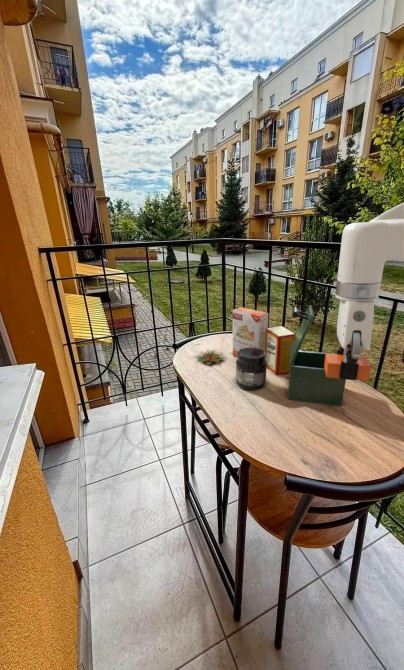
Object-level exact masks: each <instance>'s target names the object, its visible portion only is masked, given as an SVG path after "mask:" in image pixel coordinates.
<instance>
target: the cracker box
mask: <svg viewBox="0 0 404 670" xmlns="http://www.w3.org/2000/svg"><path fill="white" fill-rule="evenodd" d="M266 328H269V312H265V311H261V310H256V309H251V308H247V307H243V306H241V307H237V308H234V309H232V356H234V357H237V353H238V351H239V350H241V349H243V348H258V349H261V350H263V351H264V352H265V345H266Z"/></svg>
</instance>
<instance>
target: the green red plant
mask: <svg viewBox="0 0 404 670" xmlns="http://www.w3.org/2000/svg"><path fill="white" fill-rule="evenodd" d="M221 356H222V354H218V353H215V351H214V350H212V351H210V350H209V348H208V350H206V352H205V353H203V354H202V355H200V356H198V357H197V356H196V359H199V363H203V362H204V363H205V364H206V365H207V366H209V365H210V364H213V363H214V362H215V363H217V364H220V361H224V360H225V358H223V357H221Z"/></svg>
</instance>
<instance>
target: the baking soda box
mask: <svg viewBox="0 0 404 670" xmlns="http://www.w3.org/2000/svg"><path fill="white" fill-rule="evenodd" d="M295 336H296V333H295V332H293V331H291V330H289V329H288V328H286V327H284V326H283V325H280V326H273V327H268V328H266V345H265V353H266V359H265V360H266V361H267V366H266V369H268V370H269V371H271V373H273V374H274V375H275V376H276V377H277V376H282V375H283V376H284V375H288V374H289V371H290V365H289V364H290V348H291V346H292V343H293V341H294V339H295Z"/></svg>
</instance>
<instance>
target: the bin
mask: <svg viewBox="0 0 404 670" xmlns="http://www.w3.org/2000/svg"><path fill="white" fill-rule="evenodd" d="M326 354H332V353H329V352H316V351H305V350H299V351H298V353H297V356H296V358H295V360H294V362H293V364H292V365H290V371H289V375H288V387H287V388H288V389H287V390H288V391H287V400H289V401H297V402H304V403H312V404H320V405H327V406H335V407H343V401H344V394H345V389H346V388H345V387H346V383H347V380H346V379H340V378H330V377H326V372H325V368H324V365H325V356H326Z"/></svg>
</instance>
